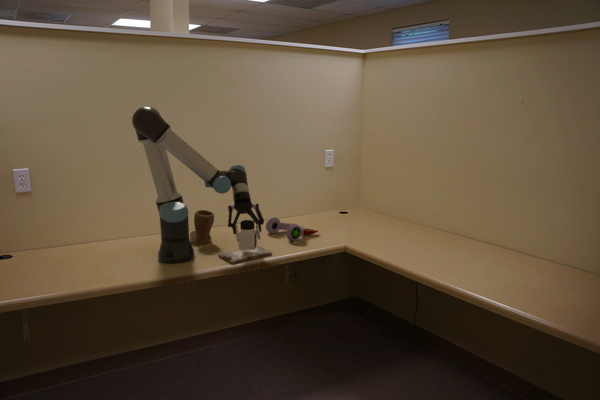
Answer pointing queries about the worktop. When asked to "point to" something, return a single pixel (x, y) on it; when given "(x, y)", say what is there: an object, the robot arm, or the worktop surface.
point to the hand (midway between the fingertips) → (248, 239)
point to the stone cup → (202, 226)
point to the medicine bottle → (247, 235)
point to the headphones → (288, 229)
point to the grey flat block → (244, 255)
